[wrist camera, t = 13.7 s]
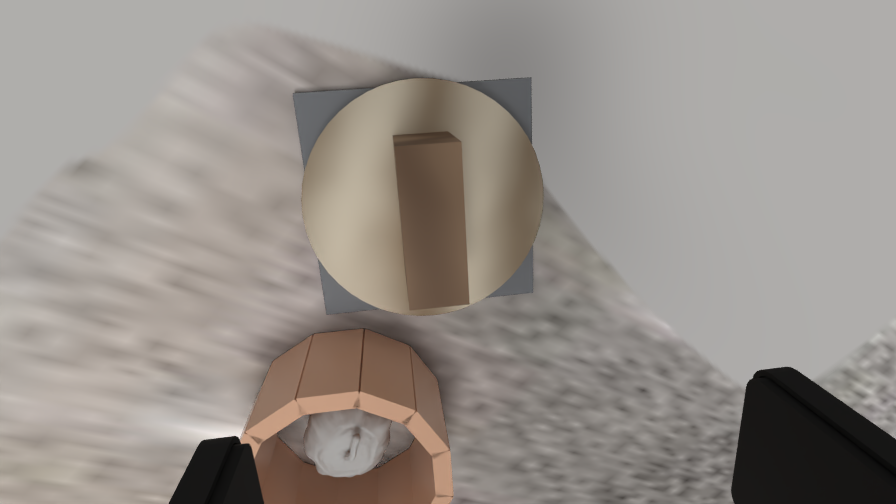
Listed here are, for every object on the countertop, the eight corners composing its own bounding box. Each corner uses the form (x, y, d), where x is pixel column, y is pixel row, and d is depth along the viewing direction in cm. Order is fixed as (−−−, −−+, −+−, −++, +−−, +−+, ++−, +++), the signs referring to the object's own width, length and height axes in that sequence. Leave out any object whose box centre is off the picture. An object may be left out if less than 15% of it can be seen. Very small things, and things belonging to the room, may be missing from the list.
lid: (537, 70, 28) (577, 68, 22) (537, 295, 33) (571, 342, 27) (286, 86, 27) (260, 87, 21) (322, 318, 31) (308, 372, 26)
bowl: (432, 320, 33) (445, 380, 26) (444, 470, 37) (457, 555, 30) (241, 341, 32) (204, 409, 25) (274, 493, 36) (250, 587, 29)
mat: (528, 77, 29) (531, 77, 28) (530, 289, 33) (533, 292, 33) (294, 93, 28) (292, 93, 27) (327, 310, 32) (326, 314, 31)
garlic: (355, 357, 33) (350, 404, 28) (410, 407, 35) (415, 460, 30) (288, 412, 34) (272, 468, 29) (346, 459, 36) (340, 519, 31)
